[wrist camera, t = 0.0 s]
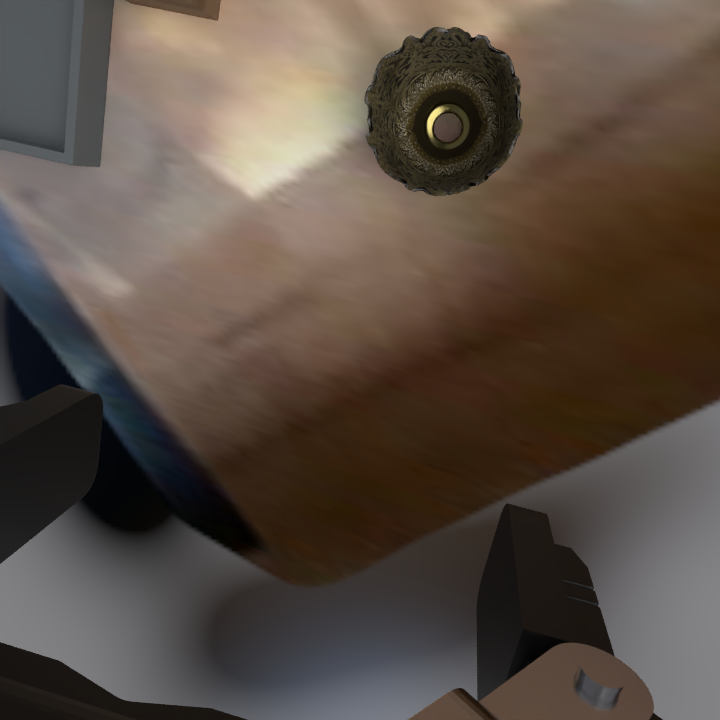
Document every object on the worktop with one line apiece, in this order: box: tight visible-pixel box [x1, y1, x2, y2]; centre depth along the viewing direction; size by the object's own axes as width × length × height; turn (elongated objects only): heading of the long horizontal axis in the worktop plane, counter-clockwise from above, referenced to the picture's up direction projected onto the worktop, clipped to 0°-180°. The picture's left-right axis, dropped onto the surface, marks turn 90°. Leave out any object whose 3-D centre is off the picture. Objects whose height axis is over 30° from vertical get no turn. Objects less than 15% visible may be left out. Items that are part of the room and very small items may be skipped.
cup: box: [365, 27, 523, 196], centre depth 34 cm, size 8×7×8 cm
